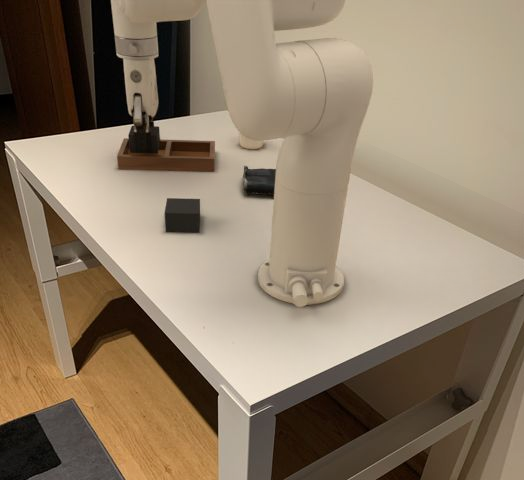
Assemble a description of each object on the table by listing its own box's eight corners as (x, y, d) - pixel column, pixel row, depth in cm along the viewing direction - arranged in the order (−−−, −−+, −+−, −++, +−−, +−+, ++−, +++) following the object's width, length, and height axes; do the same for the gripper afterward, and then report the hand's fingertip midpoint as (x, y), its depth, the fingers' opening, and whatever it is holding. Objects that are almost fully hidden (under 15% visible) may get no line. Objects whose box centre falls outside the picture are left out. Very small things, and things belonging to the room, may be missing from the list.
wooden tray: (214, 171, 111) (214, 158, 110) (118, 169, 110) (116, 156, 108) (214, 153, 119) (214, 140, 117) (125, 150, 117) (123, 138, 116)
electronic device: (244, 207, 103) (325, 199, 102) (241, 176, 100) (324, 168, 99) (245, 192, 111) (320, 185, 110) (242, 164, 108) (319, 156, 107)
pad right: (199, 233, 91) (198, 213, 89) (165, 232, 91) (164, 212, 89) (200, 217, 96) (199, 198, 93) (168, 217, 95) (167, 197, 93)
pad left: (158, 153, 110) (156, 135, 108) (130, 152, 110) (128, 134, 108) (160, 143, 115) (159, 126, 112) (133, 143, 114) (131, 125, 112)
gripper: (153, 58, 94) (160, 163, 106) (161, 37, 107) (167, 132, 119) (108, 56, 94) (120, 162, 105) (122, 36, 107) (132, 131, 118)
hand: (145, 145), depth 112 cm, fingers closed on pad left, 5 cm apart
